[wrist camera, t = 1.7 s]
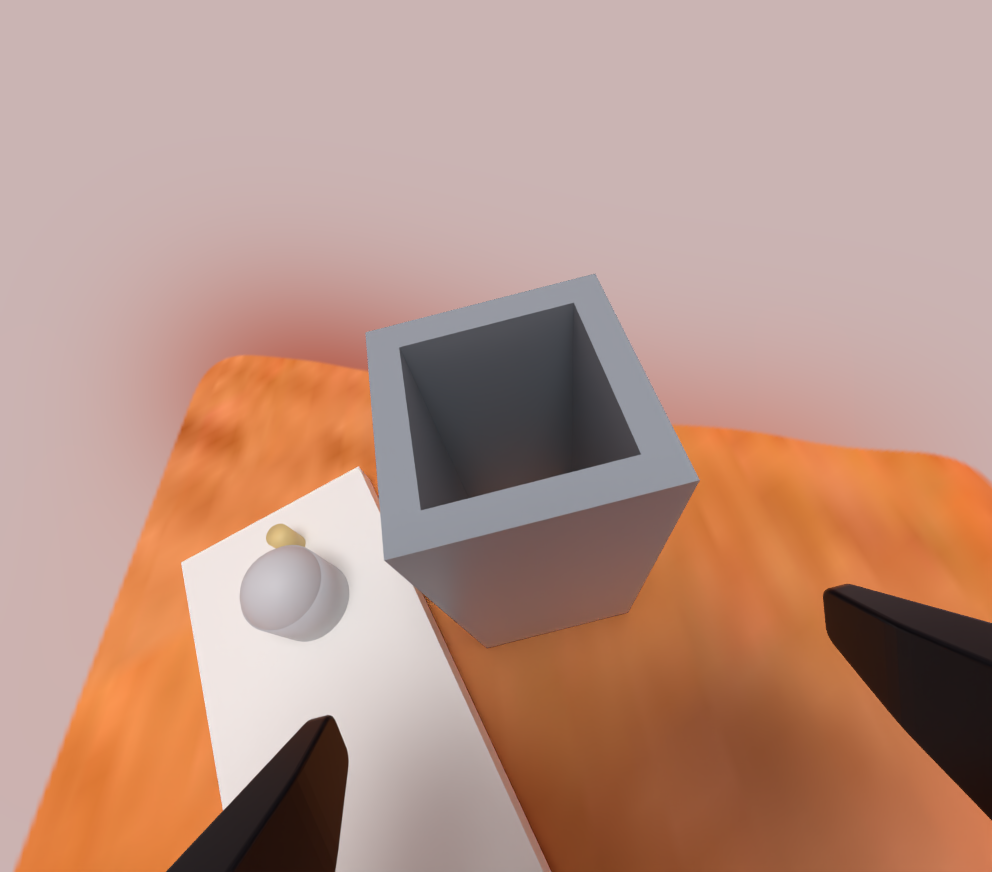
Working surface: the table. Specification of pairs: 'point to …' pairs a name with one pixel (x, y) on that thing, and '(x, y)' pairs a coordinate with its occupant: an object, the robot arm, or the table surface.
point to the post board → (350, 687)
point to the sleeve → (523, 461)
